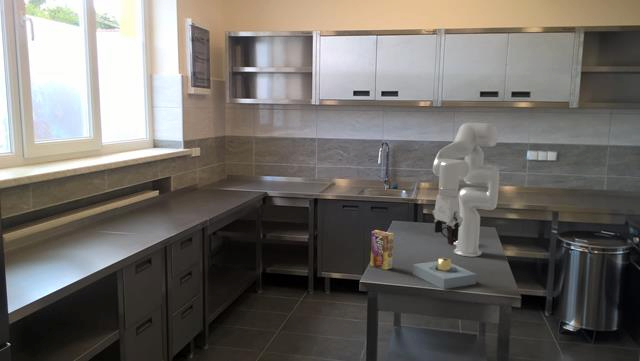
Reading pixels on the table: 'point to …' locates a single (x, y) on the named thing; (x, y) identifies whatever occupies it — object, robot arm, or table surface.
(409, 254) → the table surface
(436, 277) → the plate
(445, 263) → the bushing
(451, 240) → the coffee mug
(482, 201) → the robot arm
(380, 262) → the candy box
